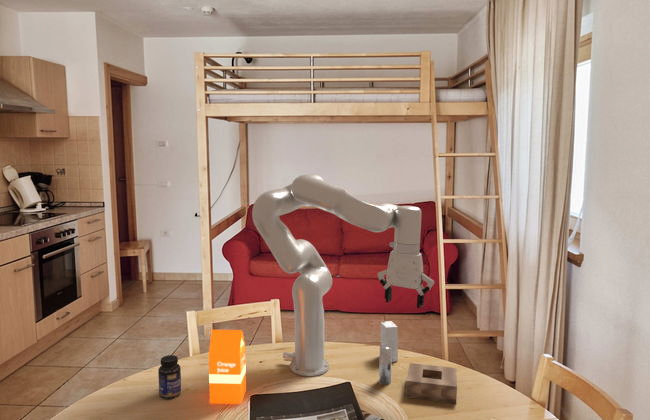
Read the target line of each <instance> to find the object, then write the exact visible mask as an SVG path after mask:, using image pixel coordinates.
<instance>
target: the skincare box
mask: <svg viewBox="0 0 650 420" xmlns="http://www.w3.org/2000/svg"><path fill="white" fill-rule="evenodd" d="M398 330H399V329H398V326H397V325H396V324H395V323H394V322H393V321H391V320H389V321H388V320H387V321H381V322H380V346H381V345H389V346H391V347H392V363H396V362H398V361H399V355H398V354H399V347H398V345H399V343H398V341H399V336H398V334H399V332H398Z"/></svg>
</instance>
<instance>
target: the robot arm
mask: <svg viewBox="0 0 650 420" xmlns="http://www.w3.org/2000/svg"><path fill="white" fill-rule="evenodd" d="M307 205H308V206H311V207H314V208H317V209H320V210H322V211H324V212H328V213H330V214H332V215H335V216H336V217H337V218H339V219H341V220H344V221H345V222H347V223H349V224H351V225H353V226H355V227H358V228H361V229H364V230H366V231H370V232H373V233H382V232H385V231H387V230H389V229H391V228H394V235H393V236H394V239H393V241H391V242H389V244H388V245H389V247H391V248H392V251H390V253H389V258H388V263H387V268H386V269H384V270H382V271H379V272H377V275H376V276H377V278H378V280H379V283H380V284H381V286H382V287H383V289H384V299H385V303H389V302H391V301H392V299H393V298H392V295H393V287H399V288H400V287H401V288H406V289H412V290H416V292H417V293H418V295H417V297H416V298H417V299H416V308H417V309H420V308H421V307H423V305H424V303H425V294H426V293H427V292H428V291H430V290H431V288H432V287H433V286H434V284H435V280H434V279H432V278H431V277H429V276H428V275H426V274H425V273H424V264H423V256H422V253H421V252H420V250H421V248H420V247H421V229H422V210H421V208H419V207H417V206H413V205H397V204H396V205H395V204H392V203H387V202H384V203H383V202H382V203H378V204H377V205H375V204H371V203H369V202H367V201H366V202H365V201H363V200H361V199H358V198H356V197H355V196H352V194H350V193H349V191H348V190H347V188H344V187H342V186H339V185H336V184H334V183H331V182H327V181H325V180H324V178H323V177H321V176H320V175H318V174H315V173H310V174H309V173H307V174H302V175H298V176H297V177H296V178H294V180H293V181H292V183H290V184H288V185H287V186H283V187H281V188H277V189H271V190H268V191H264V192H263V193H261V194H260V195H259V196H258V197H257V198H256V200H255V201H254V203H253V207H252V211H251V212H252V213H251V215H252V216H251V217H252V221H253V225H254V226H255V228H256V230H257V232H258V233H259V235H261V237H262V239H263V240H264V242H265V244H266V246H267V247H268V249H269V250H270V252H271V254H272V256H273V257H274V259H275V260H276V261H277V263H278V266H279V267H280V268H281V270H282V271H284V272H285V273H288V274H296V273H297V272H298V273H299V274H300V275H299V276H298V277H297V278H296V279H295V281H294V282H293V285H292V287H291V290H292V291H291V293H292V299H293V300H292V301H293V311H294V313H293V314H294V351H293V352H290V351H283V352H282V358H283V360H284V361H285V362H286V361H288V362H290V364H289V369H290V371H291V372H292V373H294V374H296V375H298V376H303V377H315V376H320V375H323V374H325V373H326V372H327V371H328V370H329V369H330V365H329V364H330V363H329V361H327V360H326V359H325V310H324V309H325V308H324V304H323V303H324V302H323V296H325V294H327V293H328V292H329V291H330V289H331V288H332V285H333V277H332V274H331V272H330V270H329V268H328V267H327V265H326V263H325V261H324V260H323V258H322V257H321V256H320V253H319V252H318V250H317V249H316V247H315V246H314V245H313V244H312V243H311V242H310V241H308V240H305V239H301V238H299V239H296V238H295V237H294V236H293V234H292V232H291V230H290V229H289V227H288V226H287V225H286V224H285V223H284V222H283V221H282V220H281V218H280V216H283V215H286V214H289V213H292V212H294V211H297V210H298V209H300V208H302V207H304V206H307ZM385 276H386V279H385ZM424 282H426V284H427V285H426V287H424V286H423V283H424ZM392 286H393V287H392Z"/></svg>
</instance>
